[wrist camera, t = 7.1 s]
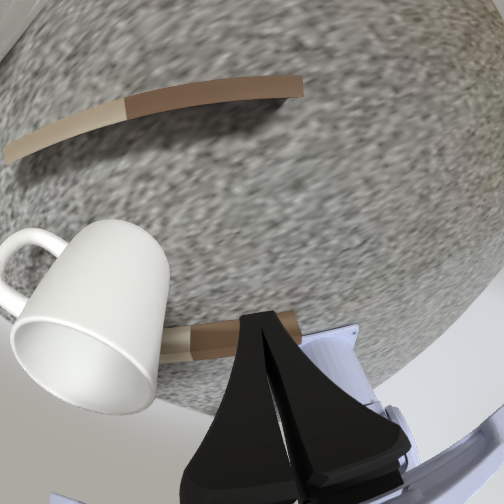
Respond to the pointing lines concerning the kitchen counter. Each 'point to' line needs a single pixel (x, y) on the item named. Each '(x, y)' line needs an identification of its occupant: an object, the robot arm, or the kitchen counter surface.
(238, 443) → the robot arm
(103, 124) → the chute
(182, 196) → the kitchen counter surface
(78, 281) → the cup
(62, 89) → the kitchen counter surface
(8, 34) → the plate stack
